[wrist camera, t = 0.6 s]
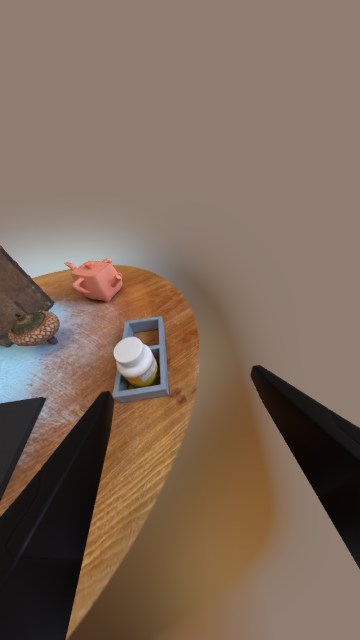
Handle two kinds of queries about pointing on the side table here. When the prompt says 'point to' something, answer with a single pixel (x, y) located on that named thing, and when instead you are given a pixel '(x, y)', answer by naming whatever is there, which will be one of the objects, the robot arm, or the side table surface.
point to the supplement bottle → (136, 362)
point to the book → (17, 295)
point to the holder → (158, 351)
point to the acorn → (34, 328)
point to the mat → (15, 433)
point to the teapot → (96, 279)
